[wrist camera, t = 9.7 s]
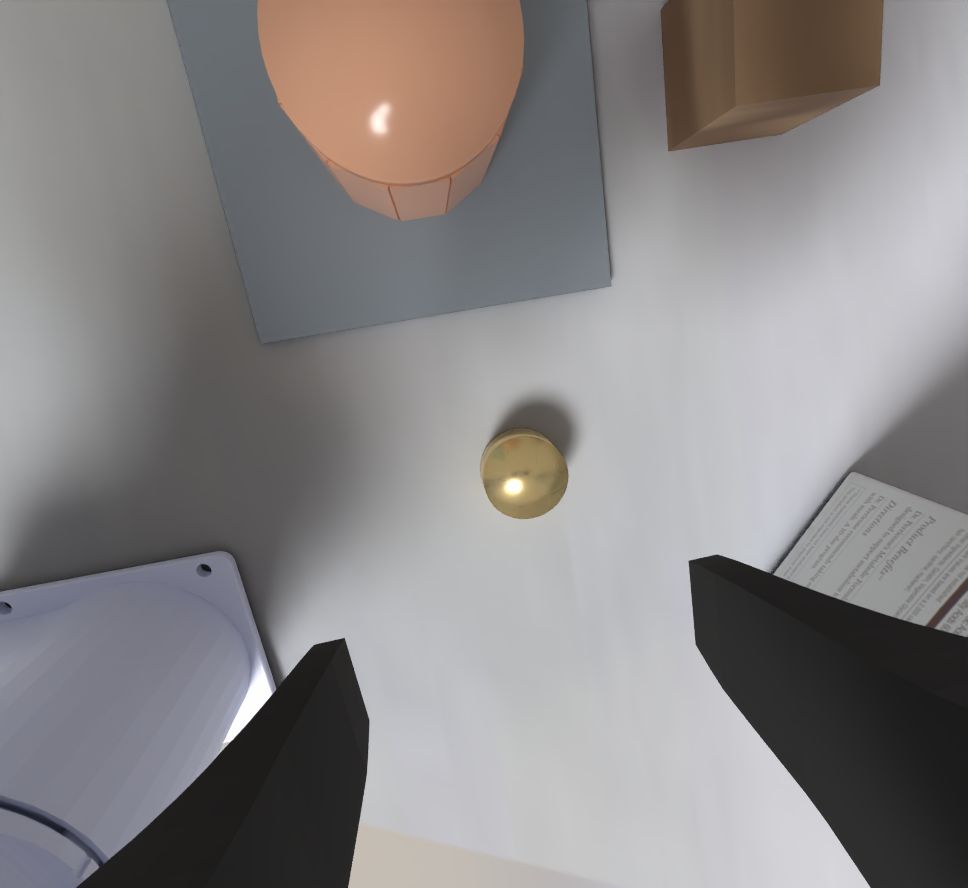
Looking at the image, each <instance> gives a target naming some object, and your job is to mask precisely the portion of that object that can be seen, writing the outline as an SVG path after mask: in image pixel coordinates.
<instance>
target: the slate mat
mask: <svg viewBox="0 0 968 888" xmlns="http://www.w3.org/2000/svg"><path fill="white" fill-rule="evenodd" d="M167 3H168V6H169V10H170V14H171V17H172V21H173V25H174V28H175V32H176V36H177V39H178V43H179V47H180V51H181V54H182V58H183V62H184V65H185V69H186V73H187V76H188V80H189V84H190V87H191V91H192V95H193V98H194V102H195V106H196V109H197V113H198V117H199V120H200V124H201V128H202V131H203V135H204V139H205V142H206V146H207V150H208V153H209V157H210V161H211V165H212V168H213V172H214V176H215V179H216V183H217V187H218V190H219V194H220V198H221V201H222V205H223V209H224V212H225V216H226V220H227V223H228V227H229V231H230V234H231V238H232V242H233V245H234V249H235V253H236V256H237V260H238V264H239V268H240V271H241V275H242V279H243V282H244V286H245V290H246V293H247V297H248V301H249V304H250V308H251V312H252V315H253V319H254V323H255V326H256V330H257V334H258V337H259V341H260V344H264V343H270V342H276V341H282V340H288V339H294V338H300V337H306V336H312V335H318V334H324V333H330V332H336V331H342V330H349V329H355V328H361V327H367V326H373V325H379V324H385V323H391V322H397V321H403V320H409V319H415V318H421V317H427V316H433V315H439V314H445V313H452V312H458V311H464V310H470V309H476V308H482V307H488V306H494V305H500V304H506V303H512V302H518V301H524V300H530V299H536V298H542V297H549V296H555V295H561V294H567V293H573V292H579V291H585V290H591V289H597V288H603V287H609V286H611V276H610V265H609V253H608V242H607V230H606V219H605V207H604V196H603V184H602V173H601V161H600V150H599V138H598V127H597V115H596V104H595V92H594V81H593V69H592V58H591V46H590V35H589V23H588V12H587V0H520V5H521V11H522V17H523V29H524V53H523V73H522V76H521V78H520V81H519V84H518V87H517V90H516V94H515V97H514V99H513V102H512V104H511V107H510V110H509V113H508V116H507V119H506V122H505V125H504V127H503V130H502V133H501V136H500V139H499V141H498V144H497V146H496V149H495V151H494V153H493V156H492V158H491V161H490V163H489V166H488V168H487V171H486V173H485V176H484V178H483V181H482V182H481V184H480V185H479V186H478V187H476V188H475V189H474V190H473V191H472V192H471V193H470V194H468V195H467V196H466V197H465V198H464V199H463V200H462V201H460V202H459V203H458V204H457V205H456V206H455V207H454V208H452V209H451V210H450V211H449V212H448V213H446V212H445V214H444V215H438V216H431V217H425V218H419V219H412V220H406V221H401V220H400V219H399V221H398V220H395V219H393V218H390V217H388V216H386V215H383V214H381V213H378V212H376V211H374V210H371V209H369V208H366V207H364V206H361V205H359V204H357V203H355V202H353V200H352V199H351V198H350V197H349V195H348V194H347V193H346V192H345V191H344V189H343V188H342V187H341V186H340V184H339V183H338V182H337V181H336V179H335V178H334V177H333V176H332V175H331V173H330V172H329V171H328V170H327V168H326V167H325V166H324V165H323V163H322V162H321V161H320V160H319V158H318V157H317V156H316V154H315V153H314V151H313V150H312V149H311V147H310V146H309V145H308V143H307V142H306V141H305V139H304V138H303V137H302V135H301V134H300V133H299V131H298V130H297V129H296V127H295V126H294V124H293V123H292V122H291V120H290V119H289V118H288V116H287V115H286V114H285V112H284V111H283V110H282V108H281V107H280V105H279V103H278V100H277V96H276V92H275V90H274V87H273V85H272V83H271V80H270V78H269V76H268V73H267V69H266V66H265V63H264V59H263V56H262V51H261V45H260V40H259V34H258V18H257V9H258V0H167Z"/></svg>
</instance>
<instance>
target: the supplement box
mask: <svg viewBox="0 0 968 888" xmlns="http://www.w3.org/2000/svg"><path fill="white" fill-rule="evenodd" d="M773 575H775V576H778V577H780V578H783V579H786V580H788V581H791V582H794V583H796V584H799V585H801V586H804V587H807V588H809V589H812V590H815V591H818V592H820V593H823V594H826V595H829V596H831V597H834V598H837V599H840V600H843V601H846V602H849V603H852V604H855V605H858V606H861V607H864V608H867V609H870V610H873V611H876V612H879V613H882V614H885V615H888V616H892V617H895V618H898V619H902V620H905V621H909V622H912V623H915V624H919V625H923V626H927V627H931V628H934V629H938V630H942V631H946V632H949V633H953V634H957V635H961V636H964V637H968V515H967V514H964V513H962V512H959V511H957V510H954V509H951V508H949V507H946V506H943V505H941V504H938V503H936V502H933V501H930V500H928V499H925V498H922V497H920V496H917V495H914V494H912V493H909V492H907V491H904V490H902V489H899V488H896V487H894V486H891V485H888V484H886V483H883V482H880V481H877V480H875V479H872V478H870V477H867V476H864V475H862V474H859V473H856V472H851V473H850V474H849V475H848V476H847V477H846V479H845V480H844V481H843V483H842V484H841V485H840V487H839V488H838V489H837V491H836V492H835V493H834V495H833V496H832V497H831V499H830V500H829V501H828V503H827V504H826V505H825V507H824V508H823V509H822V511H821V512H820V513H819V515H818V516H817V517H816V518H815V520H814V521H813V522H812V524H811V525H810V526H809V528H808V529H807V530H806V532H805V533H804V534H803V536H802V537H801V538H800V540H799V541H798V542H797V544H796V545H795V546H794V548H793V549H792V550H791V552H790V553H789V554H788V556H787V557H786V558H785V560H784V561H783V562H782V564H781V565H780V566H779V567H778V569H777V570H776V571H775V573H774V574H773Z"/></svg>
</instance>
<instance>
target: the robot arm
mask: <svg viewBox="0 0 968 888" xmlns="http://www.w3.org/2000/svg"><path fill="white" fill-rule="evenodd" d="M201 564H206V565H208V566H209V567H210V568H211V572H206V571H205V570H203V569H202V567H201ZM689 570H690V582H691V594H692V606H693V617H694V629H695V641H696V646H697V647H698V649H699V651H700V652H701V654H702V656H703V657H704V659H705V661H706V662H707V664H708V666H709V668H710V669H711V671H712V672H713V674H714V676H715V677H716V679H717V680H718V682H719V683H720V685H721V687H722V688H723V690H724V691H725V692H726V693H727V695H728V696H729V697H730V699H731V700H732V701H733V703H734V704H735V705H736V706H737V708H738V709H739V710H740V711H741V713H742V714H743V715H744V717H745V718H746V719H747V720H748V722H749V723H750V724H751V725H752V727H753V728H754V729H755V730H756V732H757V733H758V734H759V735H760V737H761V738H762V739H763V740H764V742H765V743H766V744H767V745H768V747H769V748H770V749H771V750H772V752H773V753H774V754H775V755H776V757H777V758H778V759H779V760H780V762H781V763H782V764H783V765H784V767H785V768H786V769H787V770H788V772H789V773H790V774H791V775H792V777H793V778H794V779H795V780H796V782H797V783H798V784H799V785H800V787H801V788H802V789H803V790H804V792H805V793H806V794H807V796H808V797H809V798H810V800H811V801H812V802H813V804H814V805H815V806H816V808H817V809H818V810H819V812H820V813H821V815H822V816H823V817H824V819H825V820H826V821H827V823H828V824H829V826H830V827H831V829H832V830H833V832H834V833H835V835H836V836H837V838H838V839H839V841H840V842H841V844H842V845H843V847H844V848H845V850H846V851H847V853H848V854H849V856H850V857H851V859H852V860H853V862H854V863H855V865H856V866H857V868H858V869H859V871H860V872H861V874H862V875H863V877H864V878H865V880H866V881H867V883H868V884H869V886H870V887H871V888H968V637H964V636H961V635H957V634H953V633H949V632H946V631H942V630H938V629H934V628H931V627H927V626H923V625H919V624H915V623H912V622H909V621H905V620H902V619H898V618H895V617H892V616H888V615H885V614H882V613H879V612H876V611H873V610H870V609H867V608H864V607H861V606H858V605H855V604H852V603H849V602H846V601H843V600H840V599H837V598H834V597H831V596H829V595H826V594H823V593H820V592H818V591H815V590H812V589H809V588H807V587H804V586H801V585H799V584H796V583H794V582H791V581H788V580H786V579H783V578H780V577H778V576H775V575H773V574H770V573H767V572H765V571H762V570H760V569H757V568H754V567H752V566H749V565H746V564H744V563H741V562H738V561H736V560H733V559H730V558H727V557H723V556H720V555H713V556H708V557H704V558H699V559H695V560H690V561H689ZM5 602H6V603H8V604H10V606H11V607H12V608H9V607H7V606H6V604H5ZM230 741H231V742H230ZM225 742H230V743H229V744H228V745H227V746H226V747H225V748H224V750H223V751H222V752H221V753H220V754H219V755H218V753H219V751H220V749H221V747H222V745H223V743H225ZM368 743H369V718H368V714H367V711H366V708H365V704H364V701H363V698H362V695H361V691H360V688H359V685H358V681H357V678H356V675H355V671H354V668H353V665H352V661H351V658H350V655H349V651H348V648H347V645H346V641H345V638H342V639H338V640H334V641H329V642H325V643H320V644H316V645H314V646H313V647H312V648H311V649H310V650H309V651H308V652H307V653H306V655H305V656H304V657H303V658H302V659H301V660H300V662H299V663H298V664H297V665H296V666H295V668H294V669H293V670H292V671H291V672H290V674H289V675H288V676H287V677H286V679H285V680H284V681H283V682H282V683H281V685H280V686H279V687H278V688H277V689H276V686H275V683H274V680H273V677H272V674H271V671H270V668H269V664H268V661H267V658H266V655H265V652H264V649H263V646H262V643H261V640H260V636H259V633H258V630H257V627H256V624H255V621H254V618H253V615H252V611H251V608H250V605H249V602H248V599H247V596H246V593H245V590H244V587H243V583H242V580H241V577H240V574H239V571H238V568H237V565H236V562H235V560H234V558H233V556H232V555H230V554H229V553H227V552H224V551H216V552H211V553H205V554H200V555H195V556H189V557H184V558H179V559H173V560H168V561H163V562H157V563H152V564H146V565H141V566H136V567H130V568H125V569H120V570H114V571H109V572H104V573H98V574H93V575H88V576H82V577H77V578H71V579H66V580H61V581H55V582H50V583H45V584H39V585H34V586H29V587H23V588H18V589H13V590H7V591H2V592H0V888H348V885H349V878H350V872H351V867H352V861H353V855H354V849H355V843H356V837H357V831H358V825H359V819H360V813H361V807H362V801H363V795H364V789H365V782H366V776H367V762H368ZM217 755H218V756H217Z"/></svg>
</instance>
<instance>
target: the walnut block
mask: <svg viewBox="0 0 968 888" xmlns="http://www.w3.org/2000/svg"><path fill="white" fill-rule="evenodd" d="M882 22H883V0H668V2H667V3H666V4H665V6H664V7H663V8H662V10H661V25H662V43H663V61H664V79H665V97H666V116H667V134H668V151H674V150H680V149H687V148H693V147H700V146H707V145H713V144H720V143H726V142H733V141H740V140H746V139H753V138H759V137H766V136H773V135H779V134H783V133H785V132H787V131H789V130H791V129H793V128H795V127H797V126H799V125H801V124H803V123H805V122H807V121H809V120H811V119H813V118H815V117H817V116H819V115H821V114H823V113H825V112H827V111H829V110H831V109H833V108H835V107H837V106H839V105H841V104H843V103H845V102H847V101H849V100H851V99H853V98H855V97H857V96H859V95H861V94H863V93H865V92H867V91H869V90H871V89H873V88H875V87H877V86H879V85H880V69H881V46H882Z"/></svg>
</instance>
